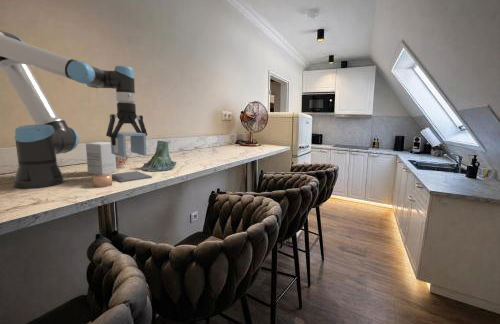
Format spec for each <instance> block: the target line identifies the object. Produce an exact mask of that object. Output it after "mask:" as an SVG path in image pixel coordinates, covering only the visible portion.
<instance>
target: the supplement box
mask: <svg viewBox="0 0 500 324" xmlns="http://www.w3.org/2000/svg"><path fill="white" fill-rule="evenodd" d="M85 149H86V152H85V153H86V163H87V173H88V174H91V175H97V174H114V173H116V172H117V168H116V157H115V154H112V153H111V142H106V141H105V142H104V141H98V142H89V143H87V142H86V143H85Z"/></svg>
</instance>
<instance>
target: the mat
mask: <svg viewBox="0 0 500 324" xmlns="http://www.w3.org/2000/svg"><path fill="white" fill-rule="evenodd" d="M110 174H111V175H112V180H115V181H118V182H119V183H126V182H133V181H139V180H144V179H152V177H153V176H152V175H149V174H146V173H143V172H140V171H137V170H134V171H127V172H126V171H124V172H118V173H110Z"/></svg>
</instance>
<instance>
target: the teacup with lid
mask: <svg viewBox="0 0 500 324" xmlns="http://www.w3.org/2000/svg"><path fill="white" fill-rule="evenodd" d="M115 157H116V169H123V168H125V167H126V162H127V161H128V160H129V155H128V153H126V157H122V156H118V155H115Z"/></svg>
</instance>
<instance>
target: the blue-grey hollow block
mask: <svg viewBox="0 0 500 324" xmlns="http://www.w3.org/2000/svg"><path fill="white" fill-rule="evenodd" d="M112 133H113V131H112ZM126 137H130V139H129V140H130V153H133V154H137V155H141V156H147V136H146V134H145V133H137V132H136V131H119V132H118V133H117V136H116V138H118V153H115V152H114V145H112V142H111V141H110V143H111V153H112V154H115V155H118V156H122V157H125V158H126V154H127V145H126V144H127V142H126Z"/></svg>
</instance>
